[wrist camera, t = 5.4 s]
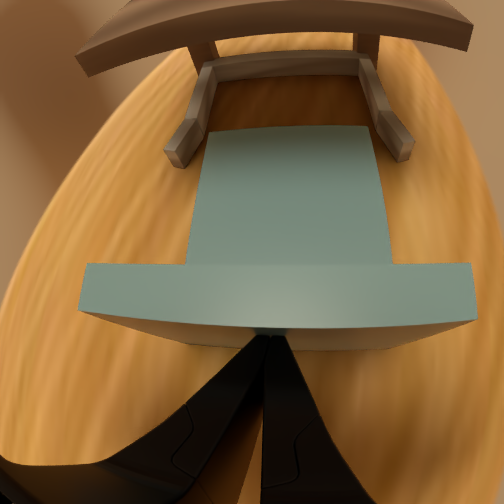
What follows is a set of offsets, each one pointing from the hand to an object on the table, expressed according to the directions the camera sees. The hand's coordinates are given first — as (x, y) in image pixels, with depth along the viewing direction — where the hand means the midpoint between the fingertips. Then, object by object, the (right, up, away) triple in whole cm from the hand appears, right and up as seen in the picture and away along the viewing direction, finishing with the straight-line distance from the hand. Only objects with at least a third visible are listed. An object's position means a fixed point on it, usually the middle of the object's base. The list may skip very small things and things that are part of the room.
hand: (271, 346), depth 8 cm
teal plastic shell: (+2, +4, +9) cm, 10 cm away
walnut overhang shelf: (+2, +15, +13) cm, 20 cm away
